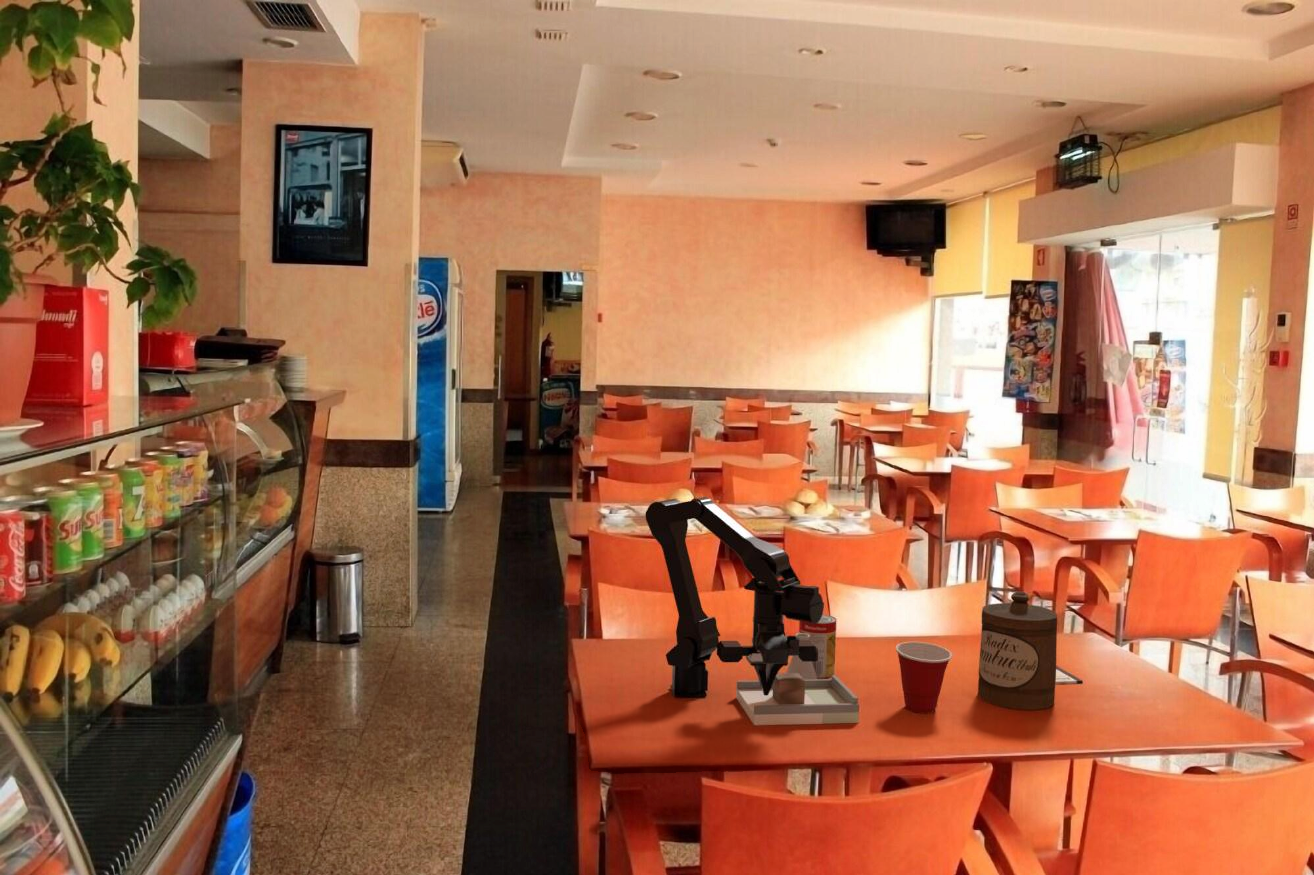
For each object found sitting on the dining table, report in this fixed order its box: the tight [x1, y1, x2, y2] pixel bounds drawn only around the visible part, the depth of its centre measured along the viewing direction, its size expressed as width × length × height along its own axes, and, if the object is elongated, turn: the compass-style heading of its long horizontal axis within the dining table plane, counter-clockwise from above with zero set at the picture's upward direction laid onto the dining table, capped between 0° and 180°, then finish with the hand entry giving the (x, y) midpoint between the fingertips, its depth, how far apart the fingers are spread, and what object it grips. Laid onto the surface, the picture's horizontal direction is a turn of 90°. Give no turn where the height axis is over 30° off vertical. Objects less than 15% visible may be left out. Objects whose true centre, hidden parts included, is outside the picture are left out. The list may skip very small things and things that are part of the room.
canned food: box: [798, 614, 838, 679], centre depth 242 cm, size 8×8×12 cm
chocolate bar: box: [1055, 665, 1083, 685], centre depth 248 cm, size 9×1×18 cm
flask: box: [785, 632, 818, 680], centre depth 236 cm, size 7×7×10 cm
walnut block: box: [773, 672, 805, 704], centre depth 217 cm, size 5×5×4 cm
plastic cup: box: [895, 641, 953, 714], centre depth 219 cm, size 11×11×12 cm
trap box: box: [735, 674, 860, 726], centre depth 217 cm, size 20×16×4 cm
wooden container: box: [977, 590, 1058, 711], centre depth 227 cm, size 15×15×22 cm
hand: (765, 694), depth 216 cm, fingers closed
